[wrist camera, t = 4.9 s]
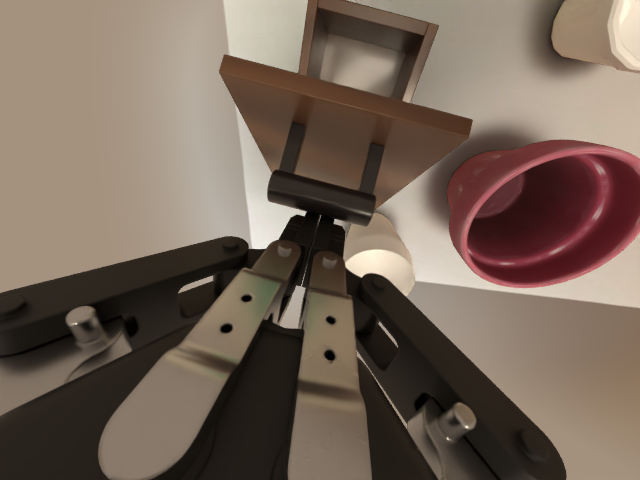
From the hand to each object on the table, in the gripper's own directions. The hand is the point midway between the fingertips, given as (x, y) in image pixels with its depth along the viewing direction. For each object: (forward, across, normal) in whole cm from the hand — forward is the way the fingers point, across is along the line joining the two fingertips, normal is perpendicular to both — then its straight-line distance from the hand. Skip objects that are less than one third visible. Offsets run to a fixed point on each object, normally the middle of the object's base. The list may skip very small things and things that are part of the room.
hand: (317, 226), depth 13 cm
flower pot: (+22, -20, 0) cm, 30 cm away
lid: (+6, 0, -2) cm, 7 cm away
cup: (+22, -8, +11) cm, 26 cm away
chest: (+22, 0, -4) cm, 23 cm away
